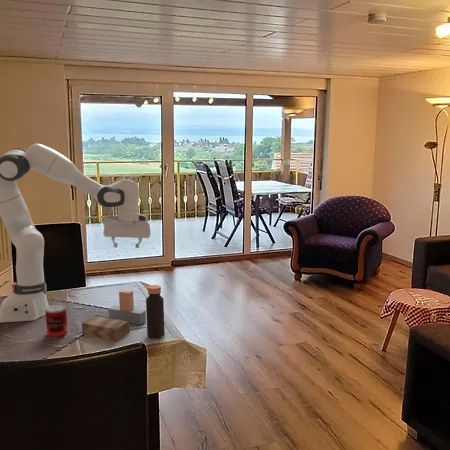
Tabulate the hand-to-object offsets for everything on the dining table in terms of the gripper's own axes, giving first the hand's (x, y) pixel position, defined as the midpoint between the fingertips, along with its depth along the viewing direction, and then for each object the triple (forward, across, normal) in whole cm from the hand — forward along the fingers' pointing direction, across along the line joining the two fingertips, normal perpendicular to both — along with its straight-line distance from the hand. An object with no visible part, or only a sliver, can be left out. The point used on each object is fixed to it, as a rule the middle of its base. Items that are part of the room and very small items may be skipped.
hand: (126, 247), depth 211 cm
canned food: (+33, -27, -16) cm, 46 cm away
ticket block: (+32, -8, -22) cm, 39 cm away
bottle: (+31, +10, -29) cm, 44 cm away
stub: (+30, +1, -10) cm, 31 cm away
